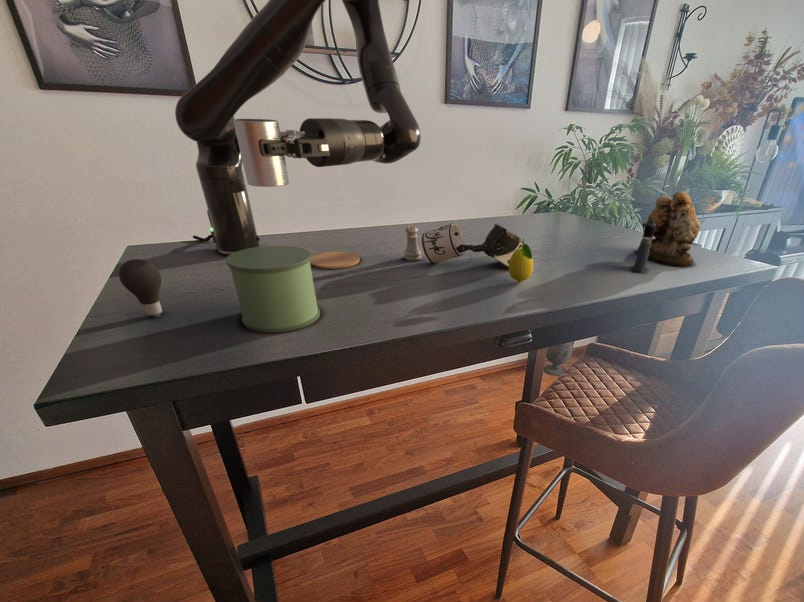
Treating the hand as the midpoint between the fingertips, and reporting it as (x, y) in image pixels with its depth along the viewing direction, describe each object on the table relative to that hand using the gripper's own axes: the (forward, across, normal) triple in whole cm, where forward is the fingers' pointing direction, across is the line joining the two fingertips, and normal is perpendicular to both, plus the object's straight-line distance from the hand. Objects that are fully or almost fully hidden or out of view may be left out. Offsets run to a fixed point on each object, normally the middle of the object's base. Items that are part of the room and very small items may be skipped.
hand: (247, 146), depth 68 cm
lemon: (-42, +28, +27) cm, 57 cm away
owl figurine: (-87, +47, +27) cm, 103 cm away
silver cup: (-2, 0, +6) cm, 6 cm away
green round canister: (+2, +4, +27) cm, 27 cm away
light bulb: (+16, -13, +27) cm, 34 cm away
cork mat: (-25, -15, +27) cm, 40 cm away
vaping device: (-71, +46, +27) cm, 89 cm away
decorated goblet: (-45, +11, +27) cm, 54 cm away
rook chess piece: (-39, -2, +27) cm, 48 cm away
